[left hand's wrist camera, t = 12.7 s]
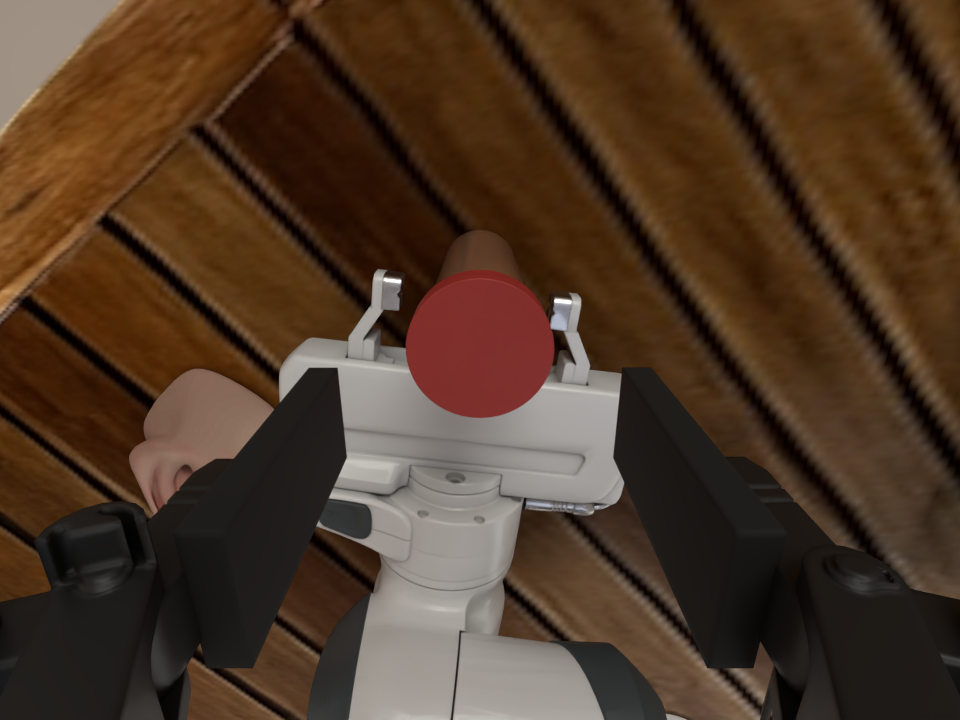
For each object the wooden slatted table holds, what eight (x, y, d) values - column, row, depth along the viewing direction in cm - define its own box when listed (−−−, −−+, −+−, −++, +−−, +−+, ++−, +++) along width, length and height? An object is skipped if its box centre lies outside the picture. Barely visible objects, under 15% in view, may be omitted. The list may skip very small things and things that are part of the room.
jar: (485, 214, 33) (491, 259, 18) (529, 272, 34) (567, 357, 19) (429, 260, 34) (390, 337, 19) (474, 314, 35) (470, 426, 20)
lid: (492, 239, 19) (493, 245, 17) (576, 348, 20) (583, 363, 19) (382, 327, 20) (374, 340, 19) (469, 424, 22) (468, 443, 20)
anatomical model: (120, 374, 32) (303, 432, 34) (157, 352, 36) (321, 405, 37) (96, 539, 37) (259, 585, 38) (132, 504, 40) (279, 547, 42)
